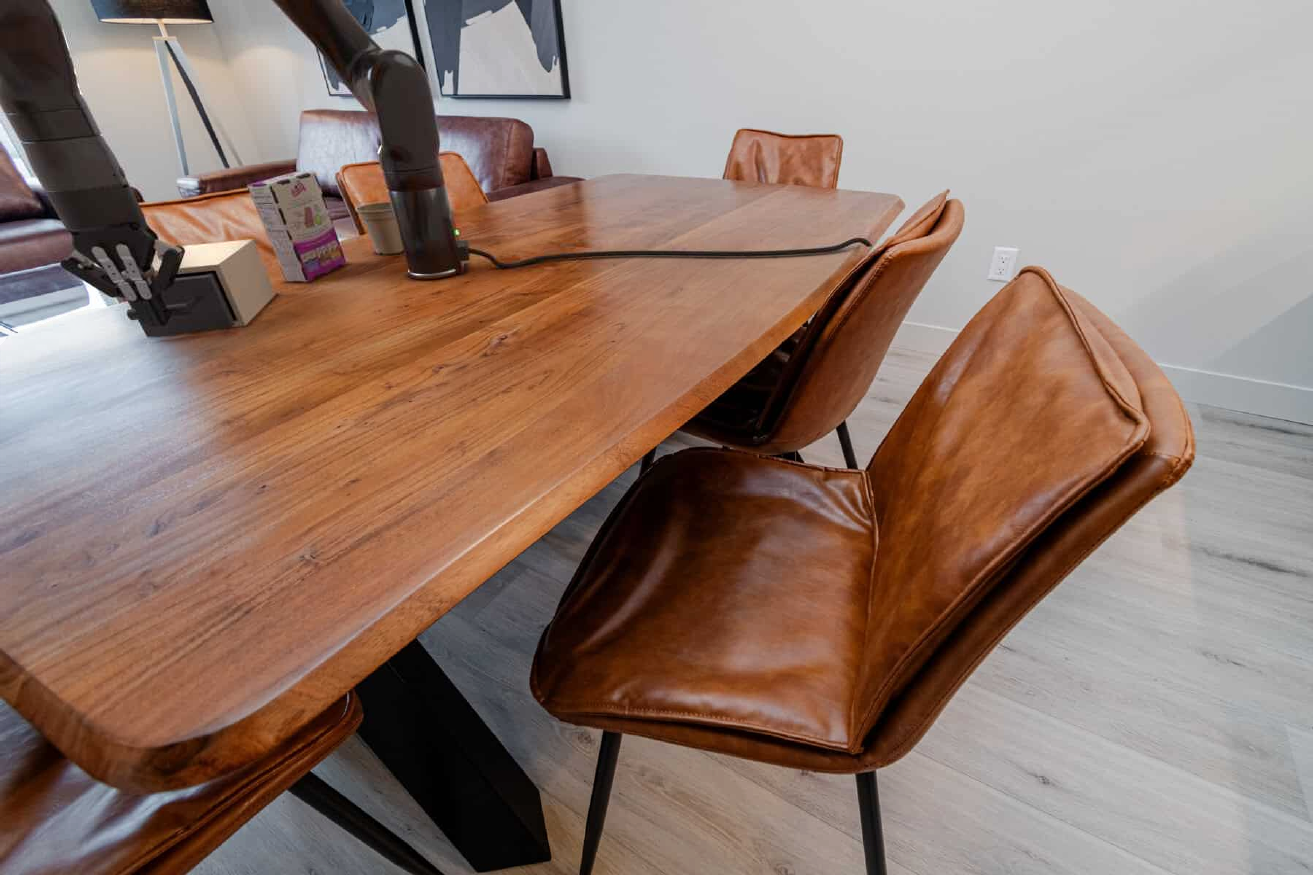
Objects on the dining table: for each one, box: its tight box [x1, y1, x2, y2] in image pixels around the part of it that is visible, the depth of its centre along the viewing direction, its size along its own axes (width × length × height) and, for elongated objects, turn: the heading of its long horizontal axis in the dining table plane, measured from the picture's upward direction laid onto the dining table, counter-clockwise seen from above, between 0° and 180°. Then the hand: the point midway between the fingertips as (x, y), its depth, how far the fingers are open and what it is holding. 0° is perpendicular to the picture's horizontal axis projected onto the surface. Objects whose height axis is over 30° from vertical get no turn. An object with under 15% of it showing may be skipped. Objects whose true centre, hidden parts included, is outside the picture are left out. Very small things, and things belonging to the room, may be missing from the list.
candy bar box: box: [246, 171, 347, 283], centre depth 105 cm, size 11×5×16 cm, turn 168°
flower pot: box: [354, 200, 404, 255], centre depth 118 cm, size 9×9×9 cm
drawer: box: [126, 270, 235, 338], centre depth 86 cm, size 18×11×7 cm, turn 13°
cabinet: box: [152, 238, 276, 336], centre depth 91 cm, size 15×12×9 cm
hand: (159, 325), depth 78 cm, fingers closed
